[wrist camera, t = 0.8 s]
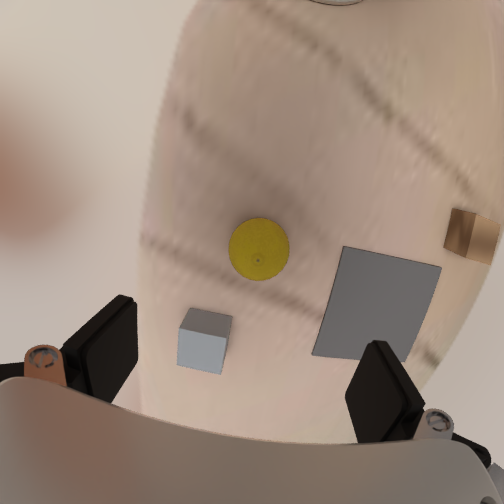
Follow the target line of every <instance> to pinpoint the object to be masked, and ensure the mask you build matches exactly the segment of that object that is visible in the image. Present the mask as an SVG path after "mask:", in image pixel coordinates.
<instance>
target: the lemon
mask: <svg viewBox="0 0 504 504" xmlns="http://www.w3.org/2000/svg"><path fill="white" fill-rule="evenodd" d="M229 257H230V260H231V262H232V265H233V267H234V268H235V269H236V270H237V272H238V273H240V274H241V275H242V276H243V277H246V278H248V279H250V280H255V281H263V280H267V279H270V278H272V277H274V276H276V275H277V274H278V273H279V272H280V271H281V270H282V269H283V268H284V266H285V264H286V263H287V260H288V257H289V242H288V238H287V236H286V234H285V232H284V230H283V229H282V228H281V227H280V226H279V225H278V224H276V223H275V222H273V221H271V220H268V219H265V218H255V219H250V220H248V221H245V222H243V223H242V224H241V225H240V226H238V227H237V228H236V230H235V231H234V232H233V234H232V236H231V239H230V242H229Z"/></svg>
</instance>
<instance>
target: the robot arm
mask: <svg viewBox="0 0 504 504" xmlns="http://www.w3.org/2000/svg"><path fill="white" fill-rule="evenodd" d="M313 1H317V2H320V3H326V4H332V5H348V4H354V3H358V2H360V1H362V0H313ZM137 361H138V334H137V303H136V302H134V300H133V298H132V297H127V296H124V295H118V296H116V297H115V298H114V299H113V300H112V301H111V302H109V303H108V304H107V305H106V306H105V307H104V308H103V309H101V310H100V311H99V312H98V313H97V314H96V315H95V316H94V317H92V318H91V319H90V320H89V321H88V322H87V323H86V324H85V325H83V326H82V327H81V328H80V329H79V330H78V331H77V332H76V333H75V334H74V335H72V336H71V337H70V338H69V339H68V340H67V341H66V342H65V343H64V344H63V347H62V348H61V349H60V350H58V349H57V348H55V347H54V346H50V345H38V346H35V347H33V348H31V349H30V350H28V351H27V353H26V354H25V358H24V362H19V363H10V364H0V504H504V470H503V469H502V468H501V467H500V466H498V465H497V464H496V463H493V464H492V465H491V456H490V454H489V452H488V450H487V449H486V448H485V447H483V446H481V445H479V444H477V443H474V442H472V441H470V440H468V439H466V438H464V437H461V436H459V435H457V434H455V433H453V429H454V423H453V420H452V418H451V417H450V416H449V415H448V414H447V413H445V412H444V411H442V410H439V409H428V410H426V411H424V409H423V407H424V405H425V402H424V400H423V399H422V397H421V395H420V393H419V392H418V390H417V388H416V387H415V385H414V383H413V382H412V380H411V378H410V377H409V375H408V374H407V372H406V370H405V369H404V367H403V366H402V364H401V362H400V361H399V359H398V358H397V356H396V355H395V353H394V352H393V350H392V348H391V347H390V345H389V344H388V342H387V341H382V340H373V341H372V342H371V343H368V344H367V346H366V348H365V350H364V353H363V355H362V358H361V360H360V362H359V364H358V367H357V369H356V371H355V373H354V376H353V378H352V380H351V382H350V384H349V386H348V388H347V390H346V393H345V400H346V403H347V407H348V410H349V413H350V417H351V420H352V424H353V427H354V430H355V434H356V437H357V441H358V443H351V444H318V443H296V442H282V441H271V440H262V439H254V438H246V437H239V436H233V435H227V434H221V433H216V432H211V431H206V430H201V429H196V428H192V427H187V426H183V425H179V424H175V423H171V422H167V421H164V420H160V419H157V418H153V417H150V416H147V415H143V414H140V413H137V412H134V411H131V410H128V409H125V408H122V407H119V406H116V405H113V404H111V403H112V401H113V399H114V398H115V396H116V395H117V393H118V392H119V390H120V388H121V387H122V385H123V384H124V382H125V381H126V379H127V377H128V376H129V374H130V373H131V371H132V370H133V368H134V367H135V365H136V363H137Z"/></svg>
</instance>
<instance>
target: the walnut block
mask: <svg viewBox="0 0 504 504" xmlns="http://www.w3.org/2000/svg"><path fill="white" fill-rule="evenodd" d="M500 226H501V225H500V224H498V223H496V222H493V221H491V220H489V219H487V218H484V217H482V216H480V215H477V214H474V213H470V212H466V211H462V210H458V209H453V208H452V213H451V218H450V222H449V226H448V231H447V235H446V239H445V243H444V248H446V249H448V250H450V251H452V252H454V253H456V254H458V255H460V256H463V257H465V258H467V259H471V260H474V261H478V262H481V263H485V264H488V265H491V262H492V258H493V255H494V251H495V247H496V243H497V239H498V235H499V230H500Z"/></svg>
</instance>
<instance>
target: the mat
mask: <svg viewBox="0 0 504 504" xmlns="http://www.w3.org/2000/svg"><path fill="white" fill-rule="evenodd" d="M441 270H442V268H441V267H438V266H433V265H429V264H424V263H420V262H416V261H411V260H407V259H402V258H397V257H393V256H388V255H383V254H379V253H374V252H369V251H365V250H360V249H355V248H350V247H345V246H343V250H342V254H341V258H340V262H339V266H338V270H337V273H336V277H335V281H334V284H333V288H332V291H331V295H330V298H329V302H328V305H327V308H326V312H325V315H324V318H323V321H322V325H321V328H320V331H319V334H318V337H317V340H316V343H315V346H314V349H313V352H312V355H313V356H322V357H332V358H342V359H354V360H361V358H362V355H363V353H364V350H365V348H366V346H367V344H368V343H371V342H372V341H373V340H382V341H387V342H388V344H389V345H390V347H391V348H392V350H393V352H394V353H395V355H396V356H397V358H398V359H399V361H400V362H405V361H406V358H407V356H408V354H409V352H410V350H411V348H412V346H413V344H414V341H415V339H416V337H417V334H418V332H419V330H420V327H421V325H422V323H423V320H424V318H425V315H426V313H427V310H428V307H429V305H430V302H431V299H432V297H433V294H434V291H435V288H436V285H437V282H438V279H439V276H440V273H441Z"/></svg>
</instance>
